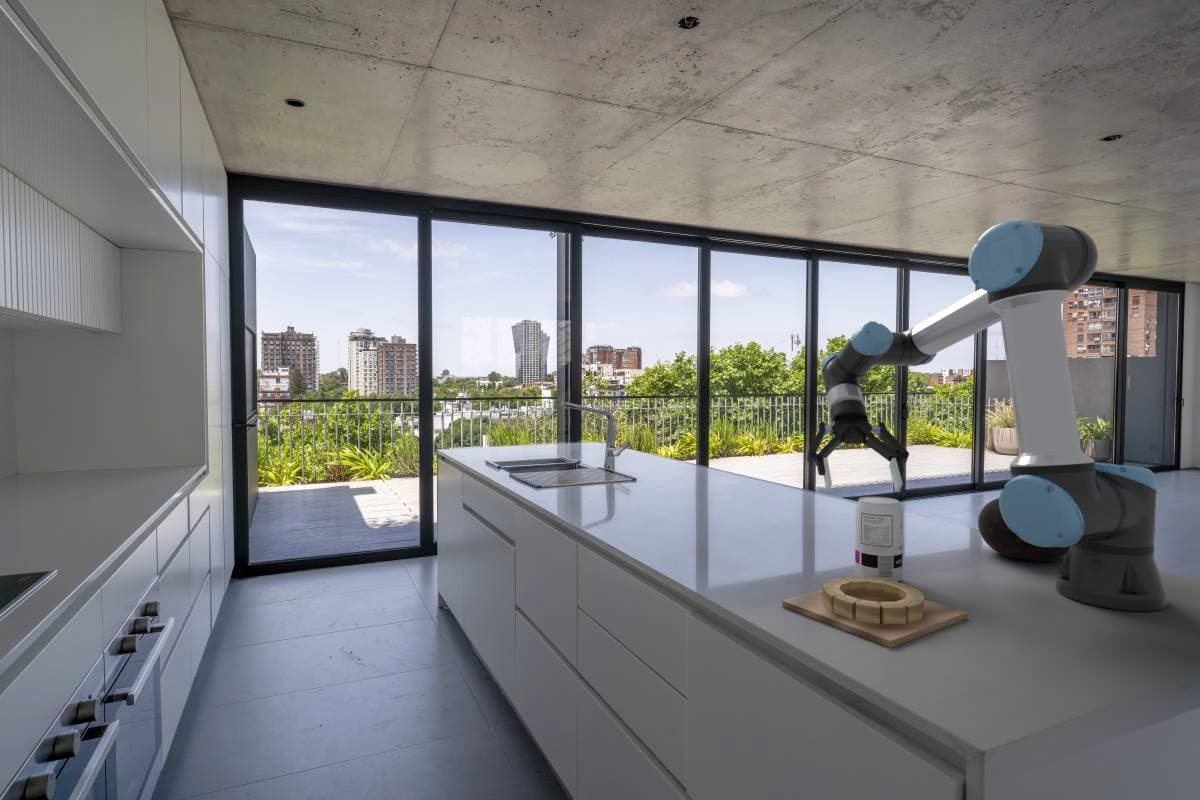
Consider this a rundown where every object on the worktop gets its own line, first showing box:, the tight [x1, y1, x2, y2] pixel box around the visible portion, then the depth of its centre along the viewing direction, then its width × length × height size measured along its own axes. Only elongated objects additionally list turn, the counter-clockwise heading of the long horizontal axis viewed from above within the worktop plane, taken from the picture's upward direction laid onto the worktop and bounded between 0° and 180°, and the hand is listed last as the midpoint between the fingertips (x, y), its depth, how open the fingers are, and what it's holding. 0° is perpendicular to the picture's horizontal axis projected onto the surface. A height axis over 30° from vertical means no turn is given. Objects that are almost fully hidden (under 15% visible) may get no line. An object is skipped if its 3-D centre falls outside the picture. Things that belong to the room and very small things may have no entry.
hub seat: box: [781, 576, 968, 649], centre depth 108 cm, size 20×20×4 cm
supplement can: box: [854, 496, 904, 582], centre depth 125 cm, size 8×8×15 cm
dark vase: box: [977, 450, 1069, 563], centre depth 139 cm, size 18×18×28 cm
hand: (863, 487), depth 134 cm, fingers open, 13 cm apart
